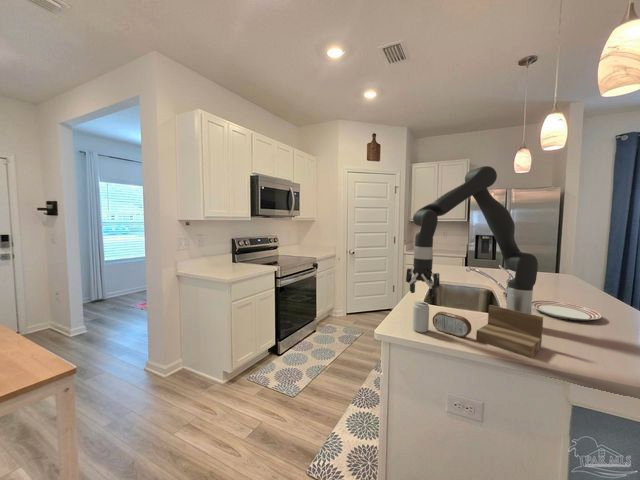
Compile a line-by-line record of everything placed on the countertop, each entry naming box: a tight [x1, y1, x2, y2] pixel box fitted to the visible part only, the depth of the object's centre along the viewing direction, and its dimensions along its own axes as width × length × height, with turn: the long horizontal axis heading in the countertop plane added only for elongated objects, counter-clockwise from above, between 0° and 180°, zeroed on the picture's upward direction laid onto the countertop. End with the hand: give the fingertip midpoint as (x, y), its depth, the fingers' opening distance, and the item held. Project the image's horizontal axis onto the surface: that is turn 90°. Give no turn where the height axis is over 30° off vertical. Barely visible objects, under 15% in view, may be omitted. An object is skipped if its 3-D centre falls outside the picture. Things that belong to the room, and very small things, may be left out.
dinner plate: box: [532, 299, 603, 321], centre depth 142 cm, size 28×27×3 cm
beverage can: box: [412, 300, 430, 333], centre depth 120 cm, size 6×6×12 cm
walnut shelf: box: [475, 304, 544, 359], centre depth 107 cm, size 12×18×12 cm, turn 39°
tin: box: [432, 311, 472, 338], centre depth 117 cm, size 15×3×8 cm, turn 45°
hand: (421, 294), depth 119 cm, fingers open, 8 cm apart
